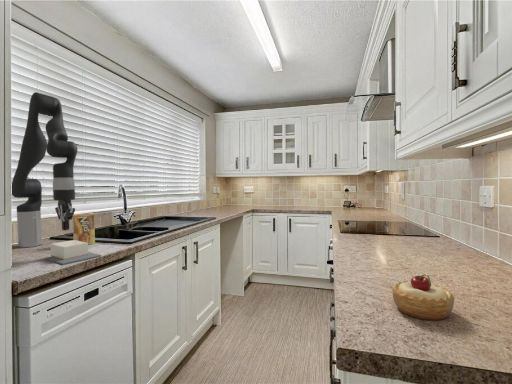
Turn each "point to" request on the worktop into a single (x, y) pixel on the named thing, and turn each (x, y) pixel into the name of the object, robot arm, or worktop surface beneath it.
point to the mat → (73, 260)
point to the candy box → (84, 228)
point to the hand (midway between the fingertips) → (65, 229)
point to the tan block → (69, 249)
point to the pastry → (423, 299)
